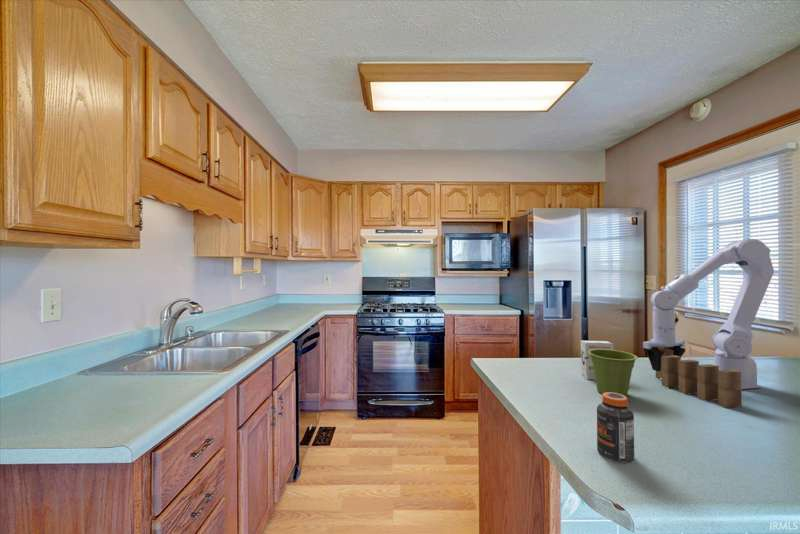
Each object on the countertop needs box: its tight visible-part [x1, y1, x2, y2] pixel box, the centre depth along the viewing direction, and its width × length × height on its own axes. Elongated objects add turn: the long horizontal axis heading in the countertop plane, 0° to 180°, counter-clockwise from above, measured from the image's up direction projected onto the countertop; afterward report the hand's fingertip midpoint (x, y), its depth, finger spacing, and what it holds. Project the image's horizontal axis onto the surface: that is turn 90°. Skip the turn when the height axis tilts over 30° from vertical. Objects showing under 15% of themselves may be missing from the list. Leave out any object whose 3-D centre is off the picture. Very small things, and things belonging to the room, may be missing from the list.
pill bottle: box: [596, 392, 635, 464], centre depth 63 cm, size 6×6×11 cm
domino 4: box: [696, 363, 719, 401], centre depth 91 cm, size 5×2×9 cm, turn 102°
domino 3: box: [678, 359, 700, 395], centre depth 96 cm, size 5×2×9 cm, turn 102°
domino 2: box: [661, 355, 682, 388], centre depth 101 cm, size 5×2×9 cm, turn 102°
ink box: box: [580, 339, 615, 381], centre depth 109 cm, size 9×5×12 cm, turn 80°
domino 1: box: [655, 348, 673, 379], centre depth 109 cm, size 5×2×9 cm, turn 102°
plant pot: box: [588, 349, 638, 397], centre depth 95 cm, size 12×12×11 cm
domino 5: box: [717, 369, 743, 409], centre depth 86 cm, size 5×2×9 cm, turn 102°
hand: (664, 369), depth 109 cm, fingers open, 6 cm apart
